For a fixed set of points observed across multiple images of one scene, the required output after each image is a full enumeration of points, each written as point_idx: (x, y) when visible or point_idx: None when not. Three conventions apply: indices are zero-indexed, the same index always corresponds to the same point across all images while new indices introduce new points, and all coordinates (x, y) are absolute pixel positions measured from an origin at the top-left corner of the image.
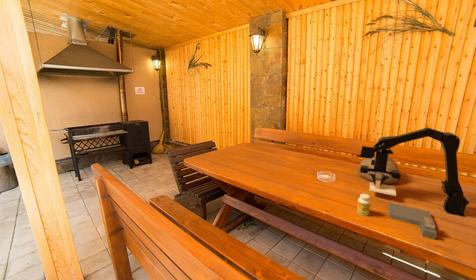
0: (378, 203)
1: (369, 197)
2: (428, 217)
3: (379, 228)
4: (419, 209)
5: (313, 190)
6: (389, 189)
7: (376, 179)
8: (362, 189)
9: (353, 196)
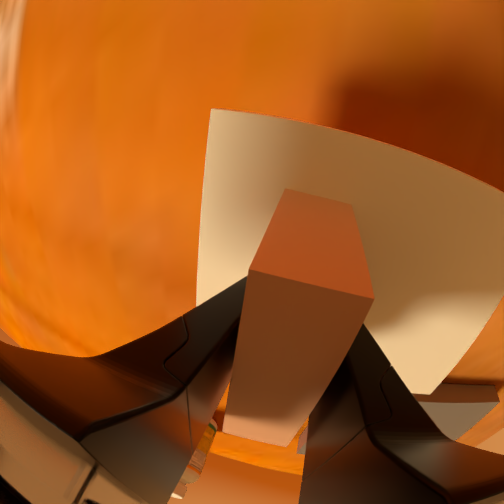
0: None
1: (182, 498)
2: (452, 436)
3: (246, 459)
4: (473, 403)
5: (2, 271)
6: (436, 320)
7: (237, 388)
8: (181, 135)
9: (129, 299)
